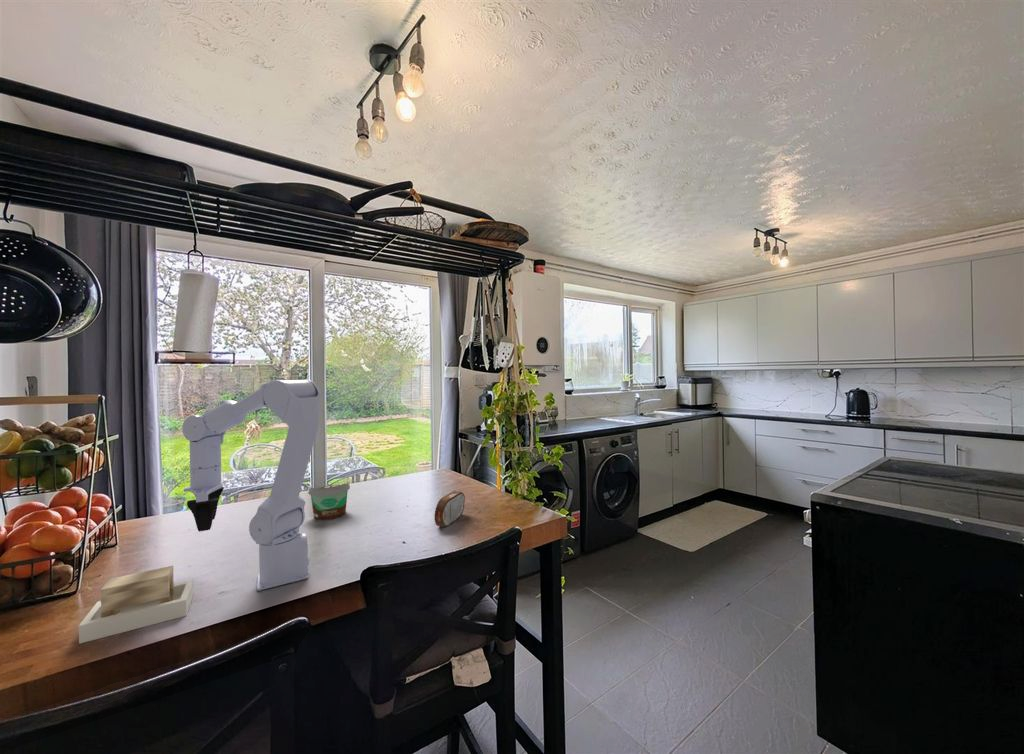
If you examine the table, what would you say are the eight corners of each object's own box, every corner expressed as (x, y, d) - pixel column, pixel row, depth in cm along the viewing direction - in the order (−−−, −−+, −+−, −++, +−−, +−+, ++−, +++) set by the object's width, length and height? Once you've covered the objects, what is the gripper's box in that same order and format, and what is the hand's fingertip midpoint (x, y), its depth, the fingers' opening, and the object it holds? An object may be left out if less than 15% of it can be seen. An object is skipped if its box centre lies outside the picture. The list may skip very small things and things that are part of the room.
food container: (312, 524, 118) (311, 491, 118) (308, 518, 123) (308, 487, 123) (354, 515, 125) (354, 484, 125) (349, 510, 130) (349, 480, 130)
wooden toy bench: (101, 626, 68) (100, 589, 68) (110, 613, 72) (109, 578, 72) (168, 609, 73) (168, 575, 73) (173, 598, 77) (173, 565, 77)
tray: (193, 594, 80) (193, 579, 80) (186, 615, 73) (186, 599, 73) (97, 617, 73) (97, 601, 73) (79, 643, 66) (78, 625, 66)
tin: (457, 513, 126) (457, 487, 126) (466, 514, 125) (466, 487, 125) (433, 530, 112) (433, 501, 112) (443, 532, 111) (442, 502, 111)
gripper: (189, 462, 95) (190, 518, 95) (177, 475, 82) (178, 539, 82) (225, 459, 98) (226, 513, 98) (218, 470, 86) (219, 532, 86)
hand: (206, 524), depth 91 cm, fingers open, 7 cm apart
